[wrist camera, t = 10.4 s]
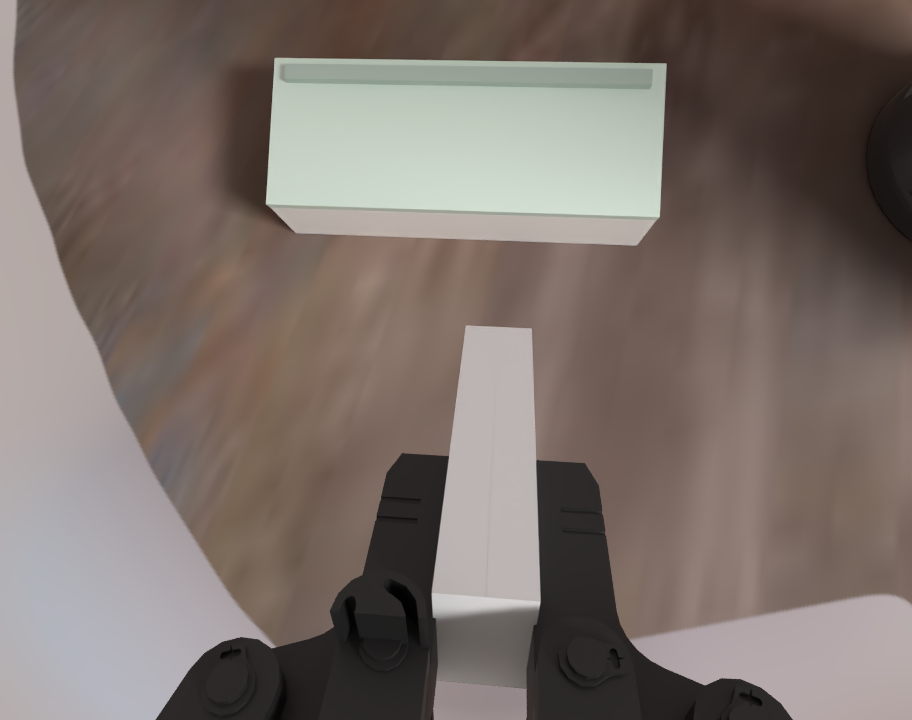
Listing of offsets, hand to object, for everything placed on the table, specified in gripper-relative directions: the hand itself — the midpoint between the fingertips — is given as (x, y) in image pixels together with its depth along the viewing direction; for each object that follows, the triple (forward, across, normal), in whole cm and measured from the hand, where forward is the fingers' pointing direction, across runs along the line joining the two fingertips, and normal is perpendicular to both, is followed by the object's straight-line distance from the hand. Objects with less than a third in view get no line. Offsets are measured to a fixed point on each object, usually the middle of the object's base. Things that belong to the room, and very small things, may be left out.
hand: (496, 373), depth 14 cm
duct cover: (+29, -3, -3) cm, 29 cm away
